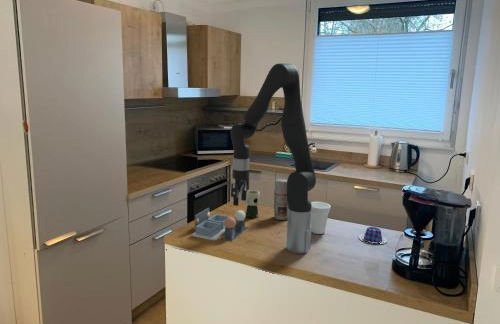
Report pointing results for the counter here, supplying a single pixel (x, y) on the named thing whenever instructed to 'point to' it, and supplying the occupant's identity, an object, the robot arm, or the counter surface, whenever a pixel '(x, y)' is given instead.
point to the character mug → (252, 203)
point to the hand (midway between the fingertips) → (239, 202)
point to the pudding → (373, 235)
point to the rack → (211, 227)
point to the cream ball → (239, 215)
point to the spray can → (280, 200)
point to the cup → (319, 216)
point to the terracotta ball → (230, 222)
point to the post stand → (234, 231)
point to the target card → (201, 217)
